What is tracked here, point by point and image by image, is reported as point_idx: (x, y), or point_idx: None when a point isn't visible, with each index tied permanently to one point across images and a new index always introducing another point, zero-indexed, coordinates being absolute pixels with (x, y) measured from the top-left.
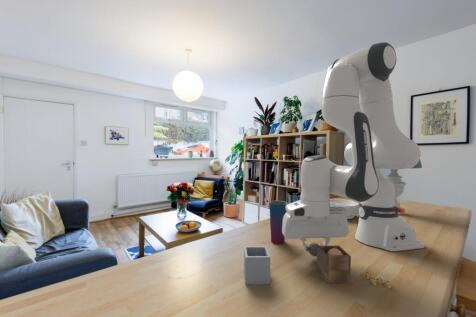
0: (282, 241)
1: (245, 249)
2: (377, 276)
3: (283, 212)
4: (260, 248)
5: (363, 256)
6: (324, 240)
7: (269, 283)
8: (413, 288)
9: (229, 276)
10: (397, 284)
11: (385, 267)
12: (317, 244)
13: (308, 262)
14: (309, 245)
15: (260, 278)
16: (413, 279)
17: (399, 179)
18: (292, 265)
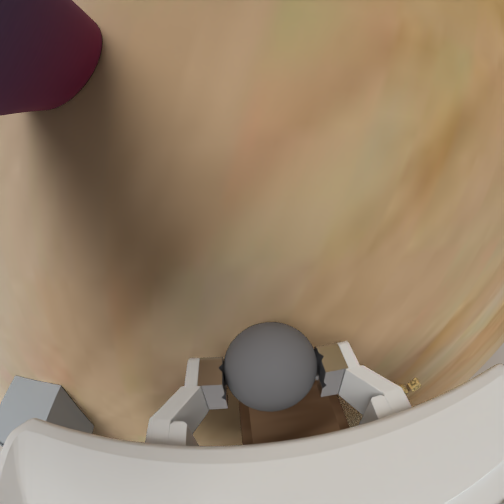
0: (69, 91)
1: (2, 446)
2: (414, 386)
3: None
4: None
5: (487, 248)
6: (368, 388)
7: (91, 429)
8: (442, 387)
9: (4, 383)
10: (430, 385)
11: (478, 316)
12: (293, 404)
13: (219, 339)
14: (234, 386)
15: None
16: (474, 354)
17: None
18: (137, 362)
